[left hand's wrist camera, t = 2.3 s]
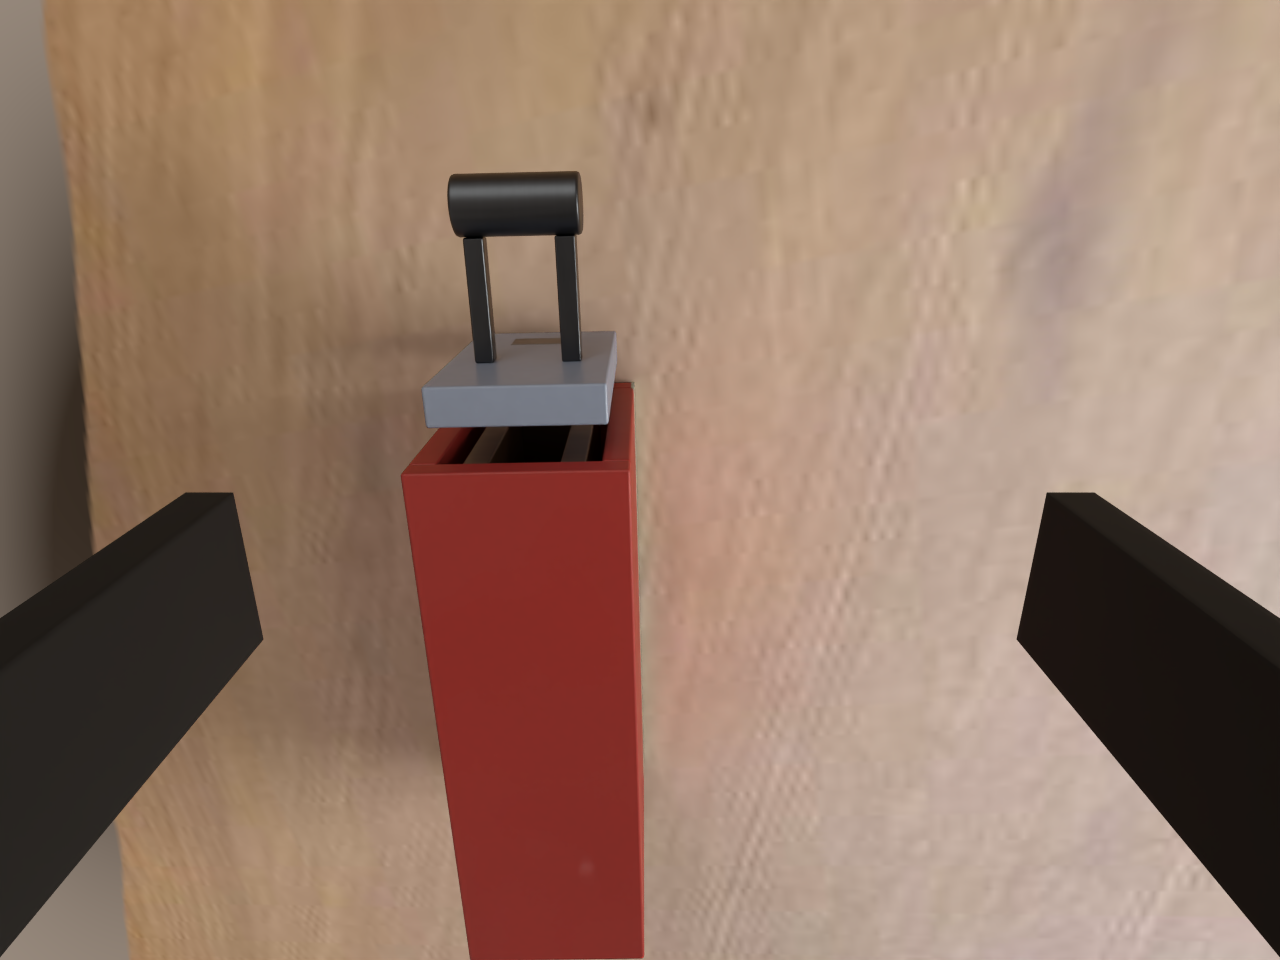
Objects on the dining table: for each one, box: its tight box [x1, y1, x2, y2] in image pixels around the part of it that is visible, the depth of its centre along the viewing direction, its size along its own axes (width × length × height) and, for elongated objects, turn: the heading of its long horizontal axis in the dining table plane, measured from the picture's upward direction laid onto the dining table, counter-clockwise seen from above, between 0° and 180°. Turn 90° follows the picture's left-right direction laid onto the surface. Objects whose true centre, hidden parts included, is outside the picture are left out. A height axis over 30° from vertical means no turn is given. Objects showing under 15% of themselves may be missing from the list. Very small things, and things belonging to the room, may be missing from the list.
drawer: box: [421, 171, 617, 464], centre depth 27 cm, size 23×5×8 cm, turn 1°
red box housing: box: [401, 382, 644, 960], centre depth 29 cm, size 19×6×10 cm, turn 1°
